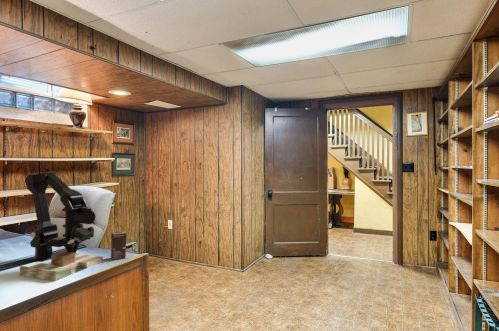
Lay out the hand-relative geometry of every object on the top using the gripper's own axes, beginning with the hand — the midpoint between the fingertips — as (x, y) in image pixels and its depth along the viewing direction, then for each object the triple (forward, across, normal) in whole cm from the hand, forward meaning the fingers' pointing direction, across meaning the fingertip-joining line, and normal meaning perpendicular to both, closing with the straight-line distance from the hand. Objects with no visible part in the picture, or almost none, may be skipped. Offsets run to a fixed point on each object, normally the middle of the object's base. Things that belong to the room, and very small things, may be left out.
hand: (72, 257), depth 132 cm
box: (+3, +14, -13) cm, 19 cm away
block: (+1, -5, 0) cm, 5 cm away
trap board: (+3, -4, 0) cm, 5 cm away
